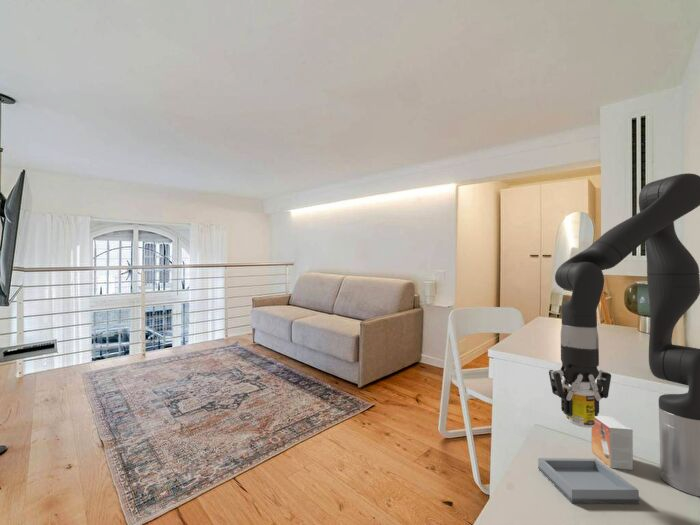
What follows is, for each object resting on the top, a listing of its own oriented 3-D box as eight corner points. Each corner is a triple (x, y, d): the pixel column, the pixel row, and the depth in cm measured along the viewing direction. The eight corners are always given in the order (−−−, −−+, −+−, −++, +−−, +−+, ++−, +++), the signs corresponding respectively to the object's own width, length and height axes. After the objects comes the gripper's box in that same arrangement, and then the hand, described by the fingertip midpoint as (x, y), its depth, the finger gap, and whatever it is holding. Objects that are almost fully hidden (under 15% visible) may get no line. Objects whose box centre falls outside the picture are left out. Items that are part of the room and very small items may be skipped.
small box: (591, 451, 91) (590, 414, 91) (612, 453, 90) (612, 415, 90) (610, 468, 83) (609, 427, 83) (633, 470, 82) (633, 429, 82)
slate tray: (595, 470, 82) (595, 458, 82) (638, 503, 70) (638, 489, 70) (538, 469, 81) (538, 458, 82) (571, 503, 69) (571, 489, 70)
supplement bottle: (589, 430, 72) (588, 385, 73) (562, 421, 77) (561, 378, 77) (599, 425, 75) (598, 381, 76) (572, 416, 80) (571, 375, 80)
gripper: (595, 341, 81) (597, 408, 80) (540, 340, 81) (541, 408, 80) (621, 348, 73) (623, 422, 73) (560, 347, 73) (561, 421, 72)
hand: (580, 414), depth 76 cm, fingers closed on supplement bottle, 5 cm apart
